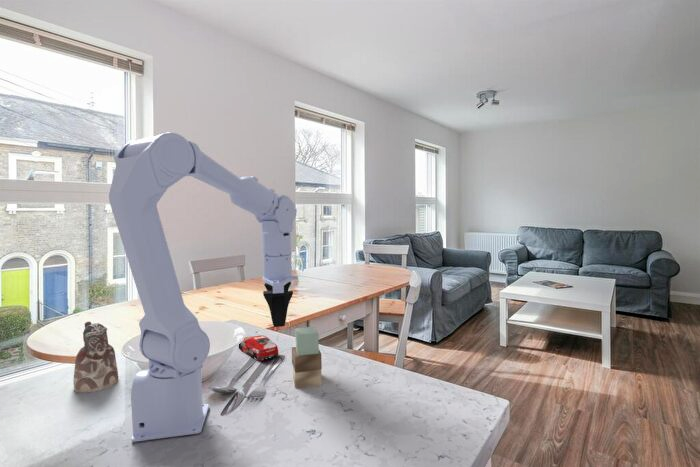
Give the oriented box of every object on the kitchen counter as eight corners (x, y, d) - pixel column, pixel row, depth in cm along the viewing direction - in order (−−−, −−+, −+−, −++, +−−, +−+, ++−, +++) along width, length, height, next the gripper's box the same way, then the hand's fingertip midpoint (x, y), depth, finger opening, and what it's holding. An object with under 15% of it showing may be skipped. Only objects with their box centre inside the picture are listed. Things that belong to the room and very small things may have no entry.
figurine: (79, 397, 67) (75, 331, 66) (69, 385, 72) (65, 324, 71) (123, 382, 72) (120, 322, 72) (111, 372, 77) (107, 315, 76)
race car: (235, 348, 90) (234, 332, 90) (256, 343, 94) (255, 327, 94) (259, 365, 80) (258, 347, 80) (281, 358, 84) (281, 341, 83)
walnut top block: (295, 372, 69) (294, 357, 69) (291, 362, 74) (291, 347, 74) (321, 369, 71) (321, 353, 70) (316, 359, 75) (316, 344, 75)
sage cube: (297, 355, 70) (297, 334, 69) (295, 348, 74) (295, 328, 73) (318, 353, 71) (318, 332, 70) (315, 346, 74) (315, 326, 74)
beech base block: (294, 388, 69) (294, 372, 69) (293, 376, 74) (293, 362, 74) (321, 385, 70) (321, 370, 70) (318, 374, 75) (317, 359, 75)
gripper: (299, 258, 69) (301, 330, 70) (294, 250, 83) (296, 309, 84) (260, 260, 68) (262, 333, 69) (262, 251, 82) (264, 312, 83)
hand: (278, 320), depth 76 cm, fingers open, 7 cm apart
